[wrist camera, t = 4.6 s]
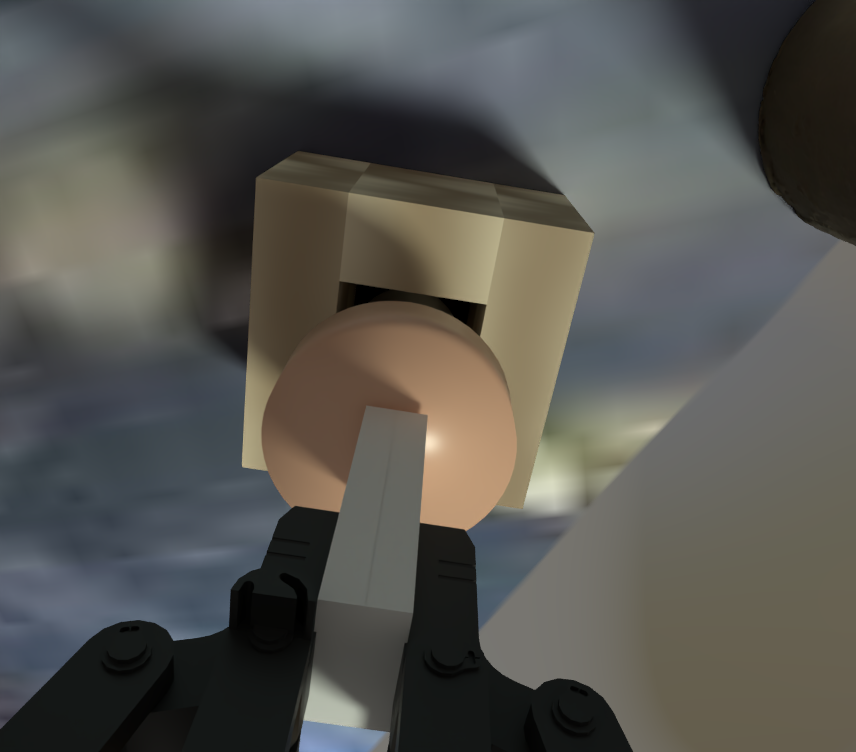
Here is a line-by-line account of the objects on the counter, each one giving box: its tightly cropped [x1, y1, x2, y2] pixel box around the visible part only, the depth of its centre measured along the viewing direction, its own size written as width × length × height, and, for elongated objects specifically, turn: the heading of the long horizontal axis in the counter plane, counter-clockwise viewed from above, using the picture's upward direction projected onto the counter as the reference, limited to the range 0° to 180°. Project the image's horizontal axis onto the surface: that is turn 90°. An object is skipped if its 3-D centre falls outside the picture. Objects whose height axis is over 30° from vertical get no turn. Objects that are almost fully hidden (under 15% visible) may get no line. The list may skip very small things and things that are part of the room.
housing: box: [242, 151, 594, 509], centre depth 25 cm, size 10×10×6 cm
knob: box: [261, 289, 517, 531], centre depth 21 cm, size 6×6×8 cm
